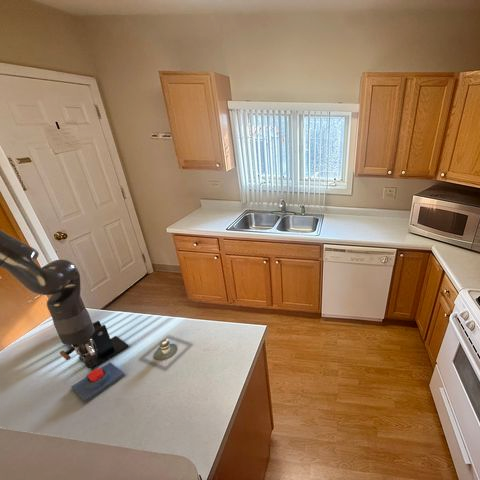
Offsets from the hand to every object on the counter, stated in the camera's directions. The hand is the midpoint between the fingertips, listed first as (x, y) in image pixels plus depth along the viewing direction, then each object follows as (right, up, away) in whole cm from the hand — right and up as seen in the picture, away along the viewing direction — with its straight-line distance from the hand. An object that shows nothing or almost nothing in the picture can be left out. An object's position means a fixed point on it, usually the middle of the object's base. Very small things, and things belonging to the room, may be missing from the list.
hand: (91, 365), depth 82 cm
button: (0, -5, +2) cm, 5 cm away
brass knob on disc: (+15, -3, +16) cm, 22 cm away
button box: (0, -7, +3) cm, 8 cm away
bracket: (-7, -2, +14) cm, 16 cm away
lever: (-9, +4, +7) cm, 12 cm away
